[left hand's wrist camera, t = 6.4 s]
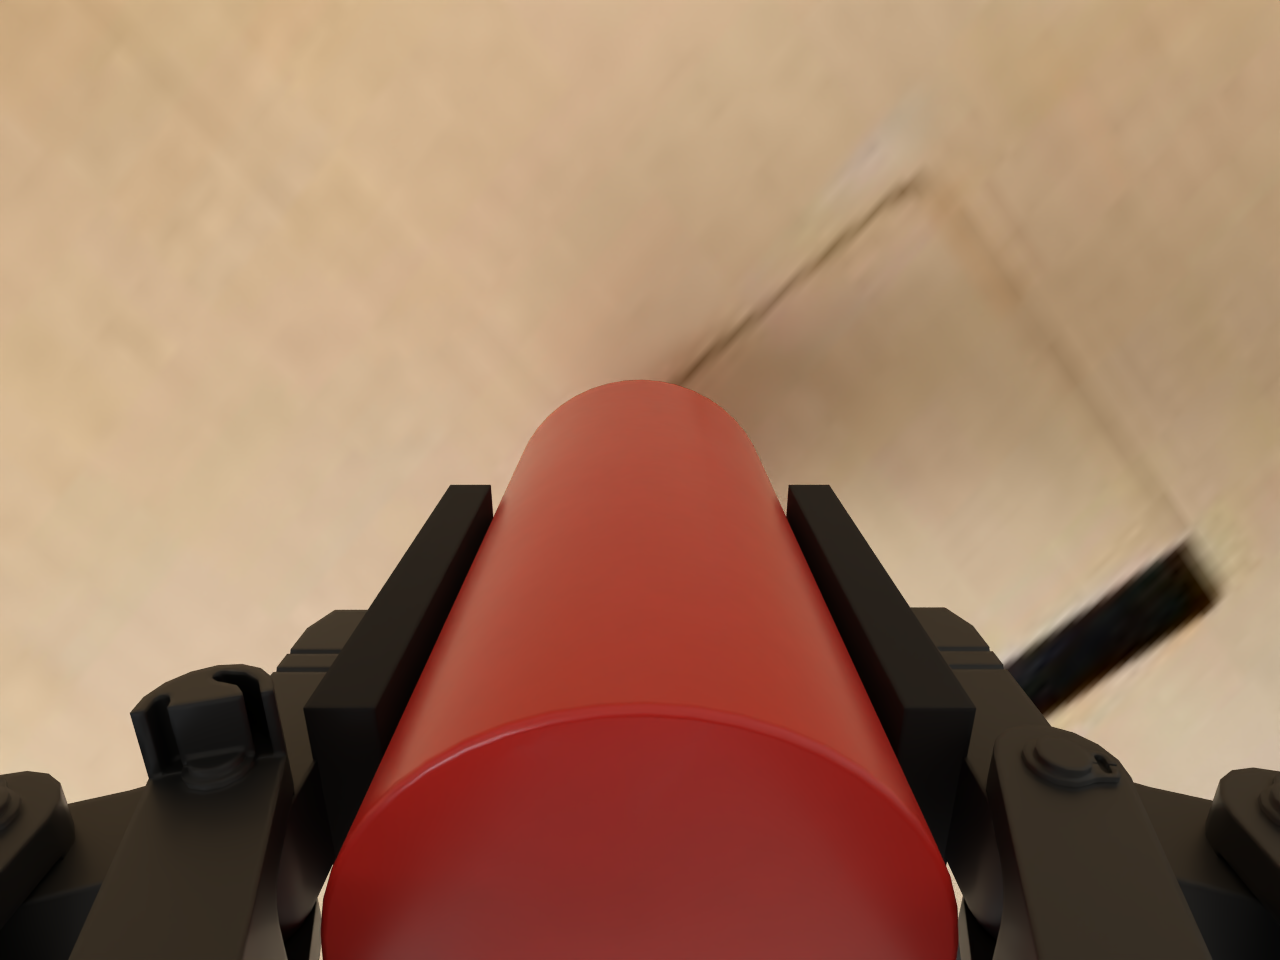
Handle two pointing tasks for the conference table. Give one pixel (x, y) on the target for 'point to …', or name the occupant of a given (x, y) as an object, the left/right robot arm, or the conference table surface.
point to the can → (639, 730)
